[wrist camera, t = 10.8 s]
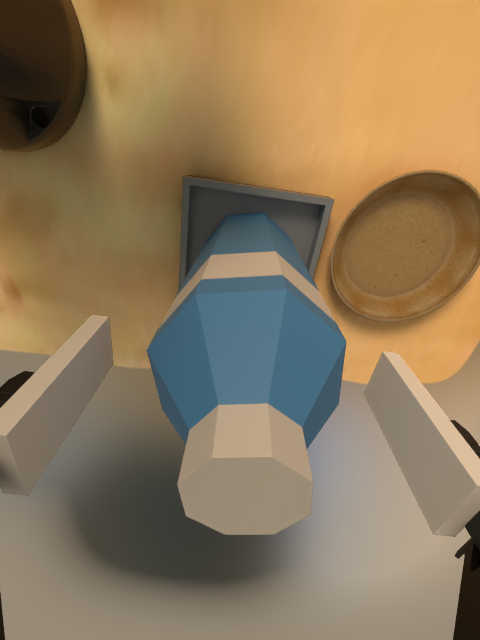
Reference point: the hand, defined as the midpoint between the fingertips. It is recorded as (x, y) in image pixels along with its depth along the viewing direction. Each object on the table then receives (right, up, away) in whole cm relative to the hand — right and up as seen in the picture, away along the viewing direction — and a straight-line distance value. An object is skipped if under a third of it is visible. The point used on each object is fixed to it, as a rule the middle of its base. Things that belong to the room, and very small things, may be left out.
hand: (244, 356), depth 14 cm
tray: (+1, +9, +17) cm, 19 cm away
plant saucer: (+16, +9, +17) cm, 25 cm away
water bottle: (+1, +8, +17) cm, 19 cm away
